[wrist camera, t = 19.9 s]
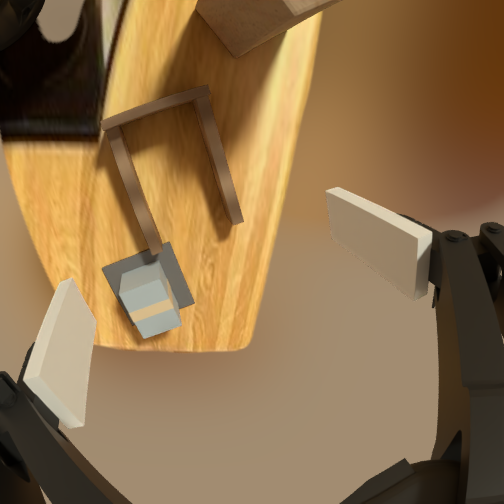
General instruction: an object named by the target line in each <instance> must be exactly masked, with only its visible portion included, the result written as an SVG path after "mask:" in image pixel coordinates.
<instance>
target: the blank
mask: <svg viewBox="0 0 504 504" xmlns="http://www.w3.org/2000/svg"><path fill="white" fill-rule="evenodd" d="M119 296H120V297H121V299H122V301H123V303H124V305H125V307H126V309H127V310H128V312H129V315H130V317H131V318H132V320H133V322H134V323H135V325H136V326H137V328H138V330H139V332H140V333H141V335H142V337H143V338H144V339H145V338H148V337H151V336H154V335H157V334H160V333H162V332H165V331H168V330H171V329H174V328H176V327H179V326H182V323H181V318H180V312H179V307H178V302H177V300H176V298H175V296H174V294H173V292H172V289H171V286H170V284H169V282H168V279H167V278H166V276H165V274H164V271H163V269H162V267H161V264H160V262H159V260H157V261H155V262H152V263H150V264H147V265H144V266H142V267H139V268H136V269H134V270H131V271H129V272H126V273H123V274H122V277H121V284H120V290H119Z"/></svg>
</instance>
